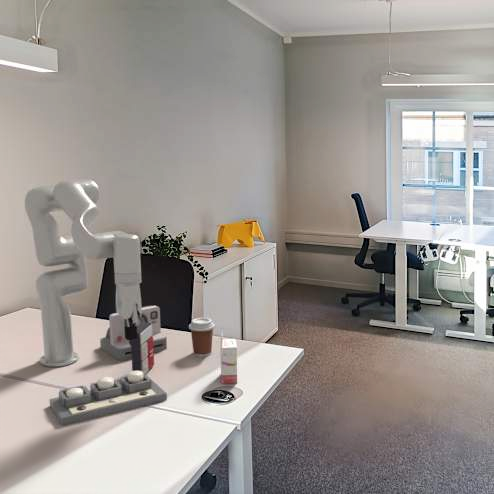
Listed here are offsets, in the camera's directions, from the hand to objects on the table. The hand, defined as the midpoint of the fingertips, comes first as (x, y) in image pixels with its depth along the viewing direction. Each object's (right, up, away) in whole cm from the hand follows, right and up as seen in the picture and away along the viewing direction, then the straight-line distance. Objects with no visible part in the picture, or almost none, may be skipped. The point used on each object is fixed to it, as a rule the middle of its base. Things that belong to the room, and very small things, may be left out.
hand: (131, 338), depth 174 cm
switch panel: (-6, -18, -3) cm, 19 cm away
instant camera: (-8, -10, +43) cm, 45 cm away
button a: (-15, -16, -6) cm, 23 cm away
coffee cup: (+18, -11, +37) cm, 42 cm away
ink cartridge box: (+28, -15, +14) cm, 35 cm away
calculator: (0, -14, +20) cm, 25 cm away
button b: (-7, -14, -2) cm, 16 cm away
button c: (+1, -13, +3) cm, 14 cm away
